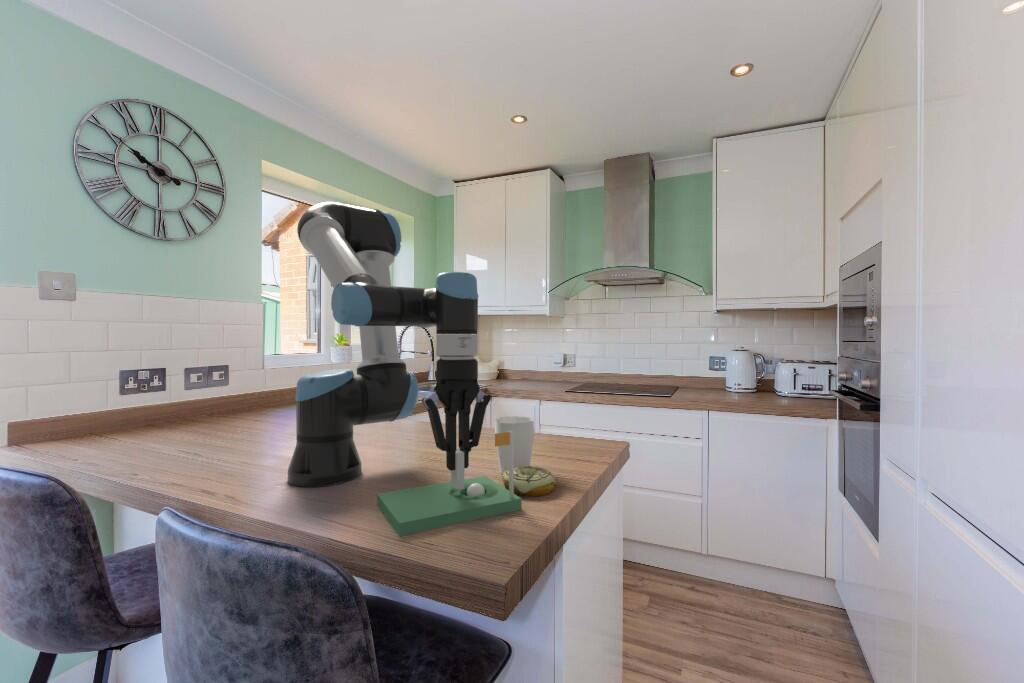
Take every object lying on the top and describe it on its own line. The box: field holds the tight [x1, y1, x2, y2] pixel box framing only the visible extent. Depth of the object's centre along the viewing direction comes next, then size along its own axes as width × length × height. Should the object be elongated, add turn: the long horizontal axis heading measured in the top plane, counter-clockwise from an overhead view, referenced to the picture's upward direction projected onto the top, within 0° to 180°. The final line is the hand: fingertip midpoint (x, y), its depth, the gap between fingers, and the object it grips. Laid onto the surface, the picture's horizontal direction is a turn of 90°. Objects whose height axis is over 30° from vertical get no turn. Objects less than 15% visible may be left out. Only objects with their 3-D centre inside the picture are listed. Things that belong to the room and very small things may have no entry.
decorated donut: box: [501, 465, 556, 497], centre depth 92 cm, size 10×11×4 cm
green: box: [376, 431, 522, 537], centre depth 82 cm, size 15×22×14 cm
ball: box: [467, 483, 485, 496], centre depth 85 cm, size 3×3×3 cm
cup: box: [494, 415, 535, 475], centre depth 103 cm, size 9×9×12 cm
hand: (457, 486), depth 83 cm, fingers closed
